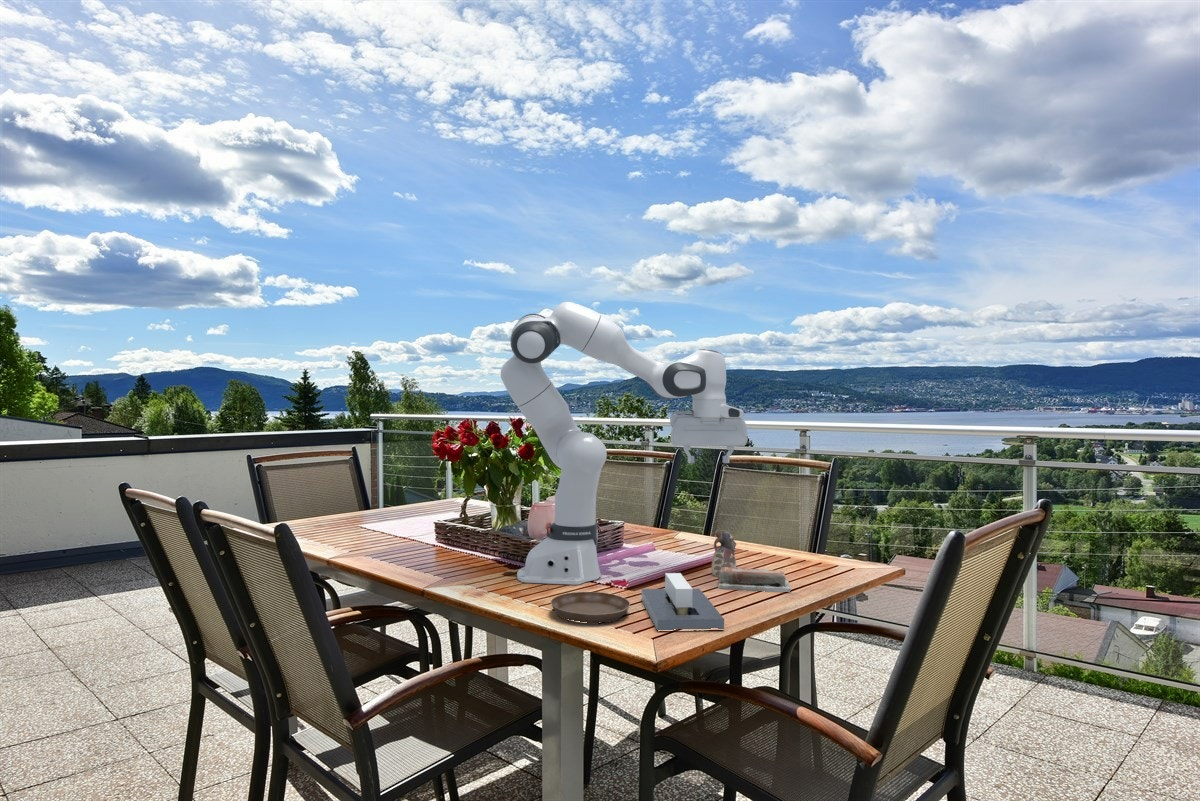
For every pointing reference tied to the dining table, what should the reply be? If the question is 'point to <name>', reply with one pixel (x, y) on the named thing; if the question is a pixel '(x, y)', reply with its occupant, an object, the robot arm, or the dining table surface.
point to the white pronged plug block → (678, 592)
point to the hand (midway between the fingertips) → (708, 462)
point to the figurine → (723, 553)
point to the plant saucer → (590, 606)
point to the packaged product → (752, 580)
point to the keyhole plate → (666, 618)
